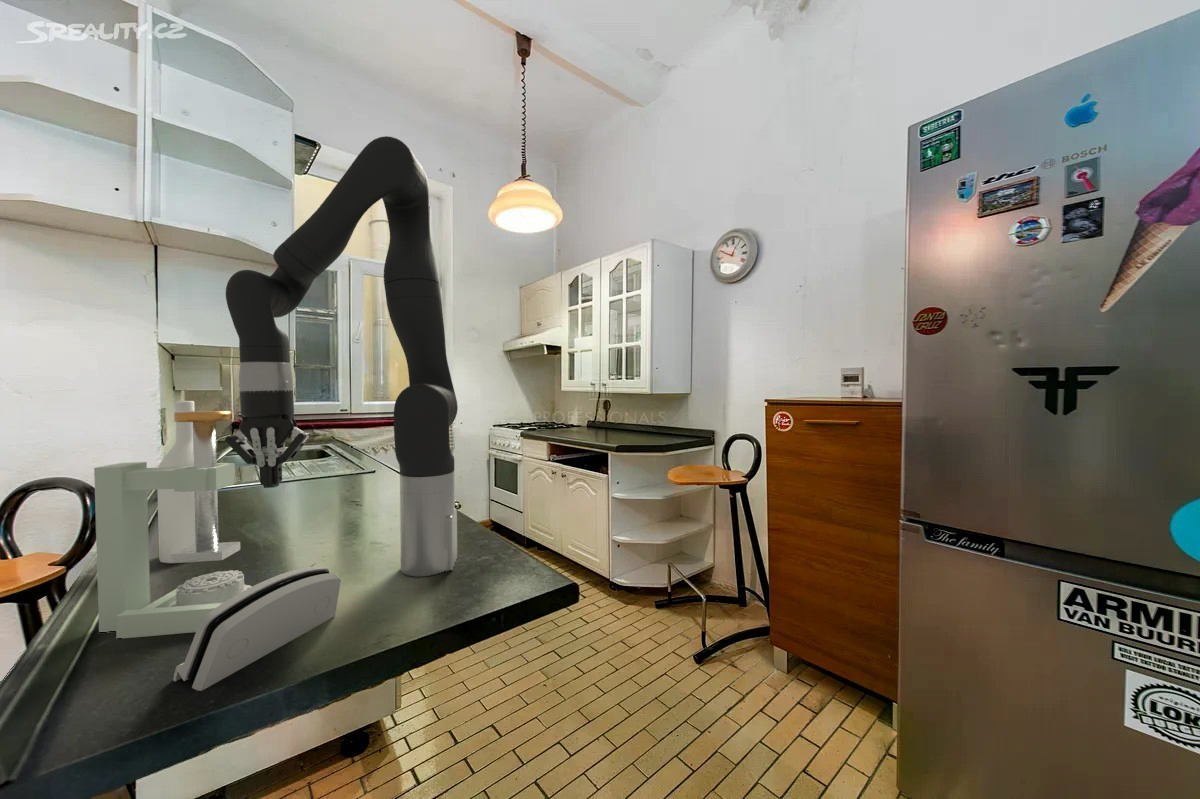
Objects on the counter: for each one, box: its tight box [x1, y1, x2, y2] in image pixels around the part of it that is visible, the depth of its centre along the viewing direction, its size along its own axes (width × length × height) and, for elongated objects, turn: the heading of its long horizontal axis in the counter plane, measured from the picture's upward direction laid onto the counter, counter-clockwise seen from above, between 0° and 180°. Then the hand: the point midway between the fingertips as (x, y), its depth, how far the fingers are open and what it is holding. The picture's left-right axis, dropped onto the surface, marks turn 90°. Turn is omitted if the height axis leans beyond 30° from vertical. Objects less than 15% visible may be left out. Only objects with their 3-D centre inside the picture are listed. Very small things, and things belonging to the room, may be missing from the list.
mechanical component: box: [168, 569, 253, 607], centre depth 65 cm, size 10×4×10 cm
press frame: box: [93, 461, 236, 639], centre depth 64 cm, size 20×14×22 cm
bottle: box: [156, 400, 196, 564], centre depth 85 cm, size 8×8×30 cm
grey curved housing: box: [172, 565, 341, 692], centre depth 55 cm, size 17×5×10 cm, turn 162°
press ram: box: [171, 410, 241, 564], centre depth 61 cm, size 6×6×20 cm
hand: (271, 486), depth 77 cm, fingers closed
